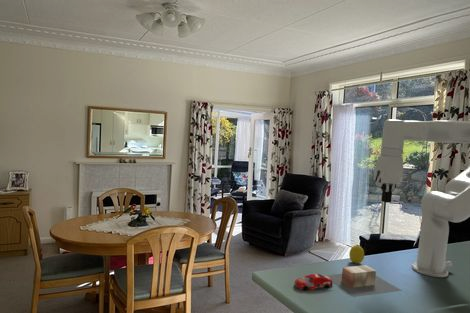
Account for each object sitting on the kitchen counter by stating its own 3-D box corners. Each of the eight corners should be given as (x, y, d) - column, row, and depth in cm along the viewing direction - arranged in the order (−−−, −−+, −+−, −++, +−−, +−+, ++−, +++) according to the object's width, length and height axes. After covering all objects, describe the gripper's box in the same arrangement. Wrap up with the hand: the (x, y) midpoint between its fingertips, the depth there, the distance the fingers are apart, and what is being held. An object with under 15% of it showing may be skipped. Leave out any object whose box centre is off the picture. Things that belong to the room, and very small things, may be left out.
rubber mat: (367, 272, 136) (368, 271, 136) (401, 291, 121) (401, 290, 121) (323, 277, 128) (323, 275, 128) (353, 298, 114) (353, 296, 113)
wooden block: (365, 265, 128) (342, 267, 124) (376, 270, 123) (352, 273, 119) (364, 278, 128) (341, 281, 124) (374, 284, 124) (350, 287, 120)
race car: (298, 292, 116) (299, 280, 115) (291, 285, 121) (292, 273, 120) (334, 289, 119) (335, 278, 119) (326, 282, 125) (327, 271, 124)
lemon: (364, 268, 140) (366, 248, 140) (349, 265, 141) (351, 246, 141) (362, 262, 146) (364, 243, 145) (347, 260, 147) (349, 241, 146)
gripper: (398, 153, 140) (393, 199, 141) (368, 151, 134) (363, 199, 136) (414, 154, 133) (409, 203, 135) (383, 153, 127) (377, 204, 129)
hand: (386, 201), depth 135 cm, fingers closed
